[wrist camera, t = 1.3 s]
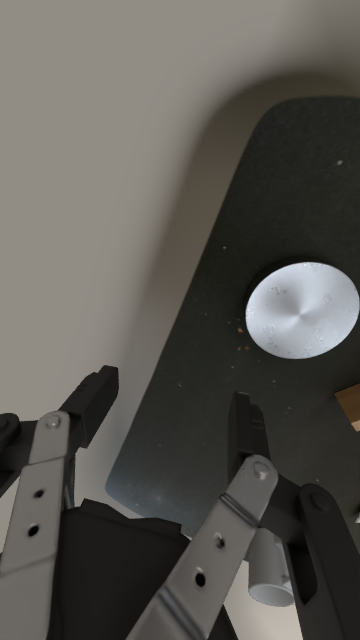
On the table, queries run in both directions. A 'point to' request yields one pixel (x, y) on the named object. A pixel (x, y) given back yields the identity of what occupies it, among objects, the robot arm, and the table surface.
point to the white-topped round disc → (300, 307)
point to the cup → (269, 570)
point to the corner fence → (351, 404)
